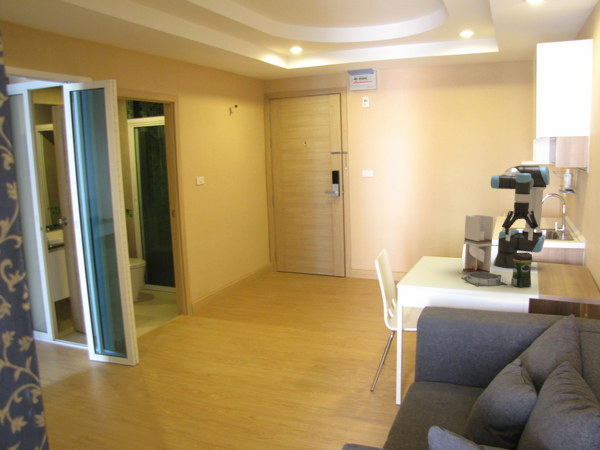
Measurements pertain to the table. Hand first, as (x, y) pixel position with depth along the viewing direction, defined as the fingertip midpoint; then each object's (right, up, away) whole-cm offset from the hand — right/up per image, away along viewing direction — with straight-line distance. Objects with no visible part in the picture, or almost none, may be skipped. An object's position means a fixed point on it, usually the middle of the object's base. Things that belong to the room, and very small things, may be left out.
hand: (519, 240), depth 275 cm
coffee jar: (+2, -25, +2) cm, 25 cm away
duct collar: (-16, -24, +10) cm, 30 cm away
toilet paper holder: (-13, -21, +30) cm, 39 cm away
